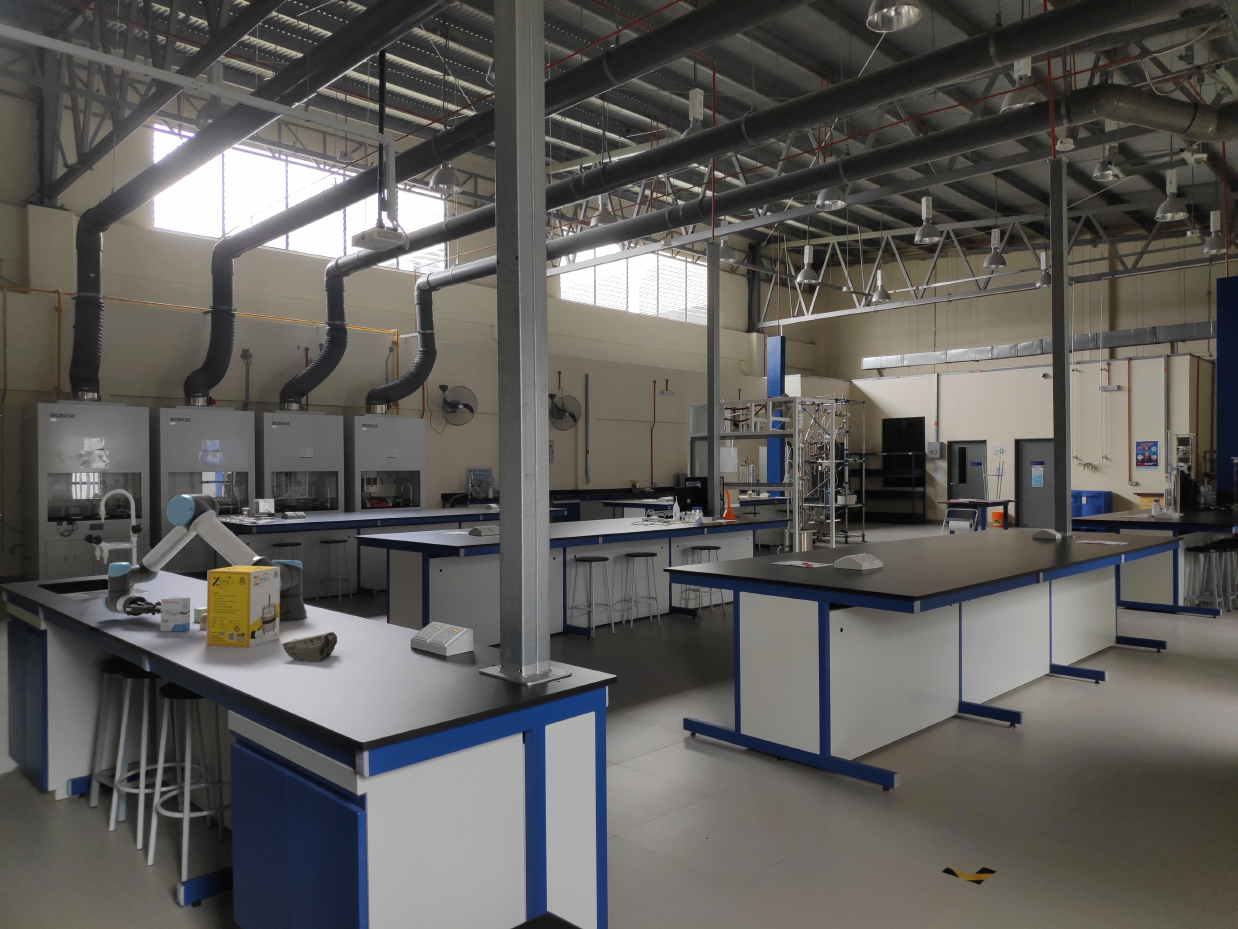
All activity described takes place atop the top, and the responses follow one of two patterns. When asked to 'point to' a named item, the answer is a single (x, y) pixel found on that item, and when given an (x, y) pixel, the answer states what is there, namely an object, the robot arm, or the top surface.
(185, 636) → the top surface
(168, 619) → the ink box
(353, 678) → the top surface
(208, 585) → the packaging box
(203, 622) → the birch cube
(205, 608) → the sage cube
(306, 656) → the concrete fragment
